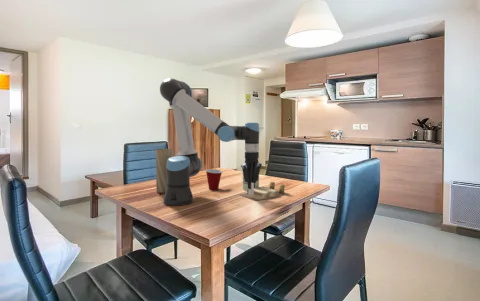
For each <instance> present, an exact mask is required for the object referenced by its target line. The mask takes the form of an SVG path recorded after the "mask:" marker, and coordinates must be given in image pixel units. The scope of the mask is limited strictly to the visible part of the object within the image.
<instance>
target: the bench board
mask: <svg viewBox="0 0 480 301" xmlns="http://www.w3.org/2000/svg"><path fill="white" fill-rule="evenodd" d="M275 184H276V183H275V182H274V181H269V188H271V189H274V190H277V189H275V187H276V185H275ZM278 186H279V187H278V190H277V191H278V193H277V196H274V197H269V198H264V199H260V198H257V197H254V196H251V195H248V194H247V193H246V192H245V193H241V194H239V193H238V196H240V197H243V198H246V199H249V200H251V201H254V202H257V203H258V202H261V201H262V202H263V201H266V200H271V199H276V198H281V197H284V196H289V195H291V193H288V192H286V191H285V184H279V185H278Z"/></svg>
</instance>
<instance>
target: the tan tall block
mask: <svg viewBox="0 0 480 301" xmlns="http://www.w3.org/2000/svg"><path fill="white" fill-rule="evenodd" d="M171 157H174V149H173V148H158V149H155V178H156V179H155V180H156V181H155V183H156V184H155V186H156V188H155V189H156V190H155V191H156V192H157V193H164V194H165V192H166V189H167V168H166V165H167V160H168V159H169V158H171Z"/></svg>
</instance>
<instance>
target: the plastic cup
mask: <svg viewBox="0 0 480 301" xmlns="http://www.w3.org/2000/svg"><path fill="white" fill-rule="evenodd" d="M205 173H206V177H207V179H206V180H207V184H208V190H211V191H216V190H218V189H219V186H220V182H221V177H222V174H223V170H222V169H214V168H208V169H205Z"/></svg>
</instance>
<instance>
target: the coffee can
mask: <svg viewBox="0 0 480 301" xmlns="http://www.w3.org/2000/svg"><path fill="white" fill-rule="evenodd" d="M241 187H242V190H243V191H245V192H247V189H248V183H247V182H245V180H244V175H243V174H242V186H241ZM256 187H260V176H259V177H258V181H256V183H255V188H256Z"/></svg>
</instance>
